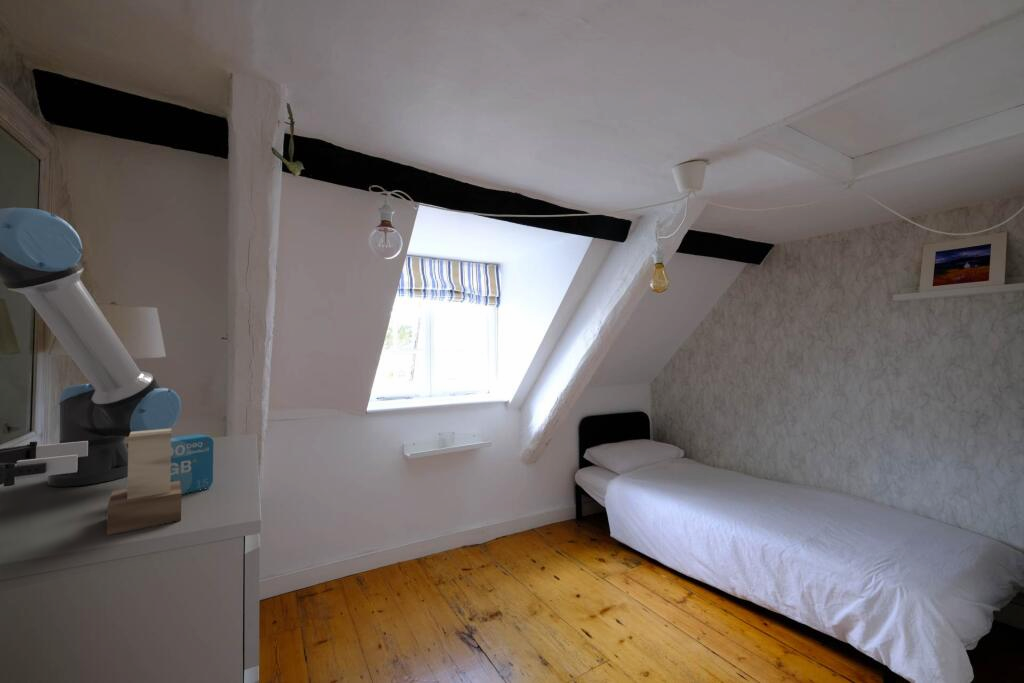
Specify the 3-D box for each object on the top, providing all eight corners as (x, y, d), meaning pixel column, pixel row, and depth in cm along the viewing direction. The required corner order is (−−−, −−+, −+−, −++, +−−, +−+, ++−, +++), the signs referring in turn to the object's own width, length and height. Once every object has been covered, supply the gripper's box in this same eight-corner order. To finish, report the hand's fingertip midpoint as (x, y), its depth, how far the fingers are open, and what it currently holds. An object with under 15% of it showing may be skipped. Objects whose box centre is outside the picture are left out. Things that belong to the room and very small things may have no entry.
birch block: (129, 490, 82) (130, 431, 82) (170, 484, 85) (171, 428, 86) (127, 499, 77) (128, 436, 77) (170, 492, 81) (171, 432, 81)
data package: (146, 502, 90) (147, 444, 90) (139, 498, 92) (141, 441, 92) (213, 487, 99) (214, 435, 100) (205, 484, 102) (206, 432, 102)
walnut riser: (112, 517, 82) (112, 490, 82) (179, 505, 88) (179, 480, 88) (107, 534, 74) (107, 505, 74) (181, 520, 80) (181, 493, 80)
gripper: (-88, 483, 72) (90, 462, 85) (-178, 532, 53) (71, 495, 66) (-86, 437, 72) (91, 424, 85) (-176, 469, 53) (72, 445, 66)
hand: (83, 455), depth 76 cm, fingers open, 13 cm apart
